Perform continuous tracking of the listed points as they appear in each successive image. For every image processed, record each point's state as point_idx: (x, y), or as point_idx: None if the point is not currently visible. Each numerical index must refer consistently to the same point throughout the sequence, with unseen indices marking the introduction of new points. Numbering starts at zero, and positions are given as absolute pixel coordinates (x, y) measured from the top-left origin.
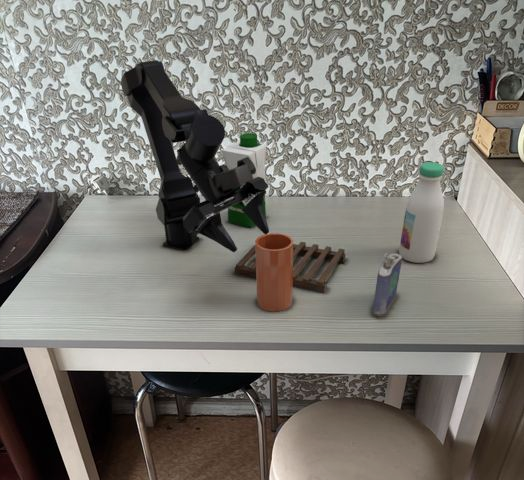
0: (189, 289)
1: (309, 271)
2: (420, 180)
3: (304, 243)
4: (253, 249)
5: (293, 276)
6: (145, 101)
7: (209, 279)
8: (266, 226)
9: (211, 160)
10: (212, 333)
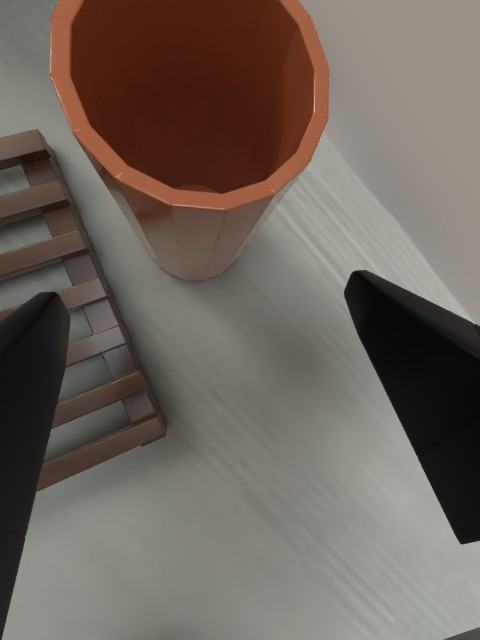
0: (309, 447)
1: (6, 211)
2: None
3: None
4: None
5: (79, 232)
6: None
7: (240, 453)
8: (28, 313)
9: None
10: (387, 254)
